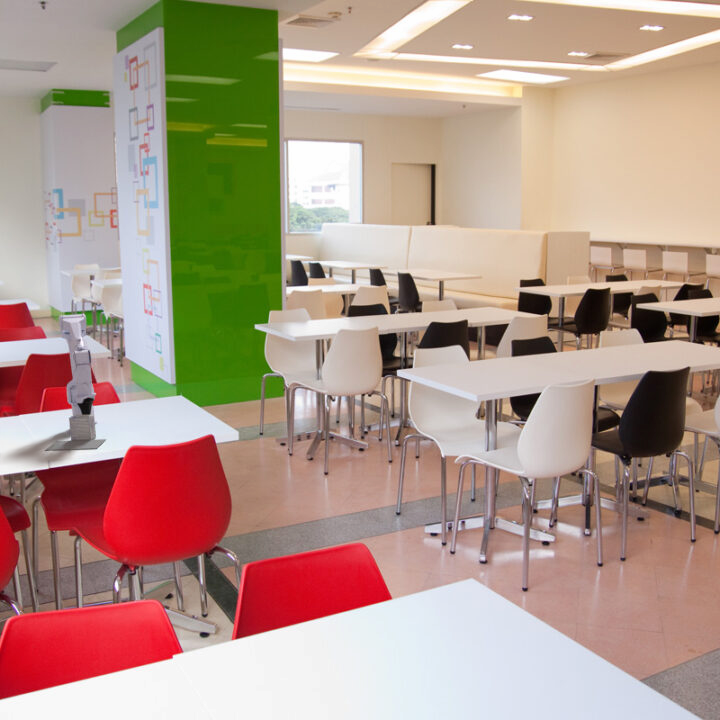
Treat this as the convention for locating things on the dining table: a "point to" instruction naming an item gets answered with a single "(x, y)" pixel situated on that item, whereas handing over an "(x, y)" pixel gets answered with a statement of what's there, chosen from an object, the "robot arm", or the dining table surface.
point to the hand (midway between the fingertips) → (86, 418)
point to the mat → (75, 444)
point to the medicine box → (82, 427)
